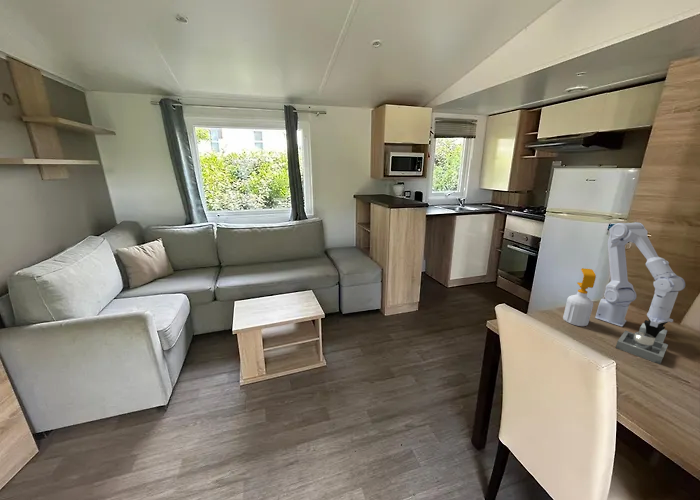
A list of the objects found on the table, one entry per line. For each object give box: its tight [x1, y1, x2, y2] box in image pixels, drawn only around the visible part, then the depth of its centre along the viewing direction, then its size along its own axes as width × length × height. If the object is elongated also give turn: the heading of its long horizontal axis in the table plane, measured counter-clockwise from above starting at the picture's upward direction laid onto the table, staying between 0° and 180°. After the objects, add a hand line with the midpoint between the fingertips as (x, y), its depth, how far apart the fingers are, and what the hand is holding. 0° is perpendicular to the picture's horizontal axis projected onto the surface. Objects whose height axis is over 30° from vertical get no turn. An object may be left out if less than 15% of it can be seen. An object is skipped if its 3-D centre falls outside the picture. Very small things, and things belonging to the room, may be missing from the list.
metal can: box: [631, 331, 655, 351], centre depth 108 cm, size 5×5×5 cm
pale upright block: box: [638, 322, 668, 343], centre depth 115 cm, size 7×5×5 cm
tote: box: [615, 330, 669, 365], centre depth 109 cm, size 12×12×3 cm
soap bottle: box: [562, 267, 597, 327], centre depth 125 cm, size 9×9×25 cm
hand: (651, 336), depth 115 cm, fingers closed on pale upright block, 5 cm apart
